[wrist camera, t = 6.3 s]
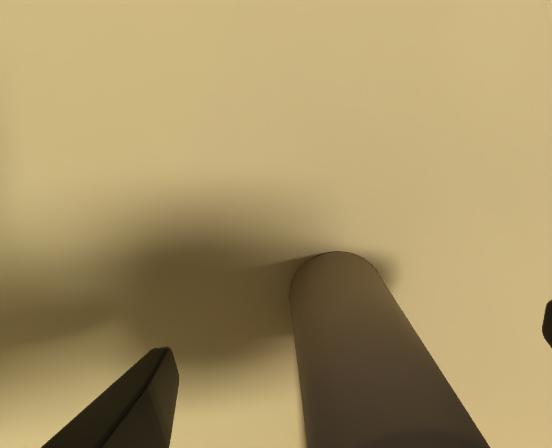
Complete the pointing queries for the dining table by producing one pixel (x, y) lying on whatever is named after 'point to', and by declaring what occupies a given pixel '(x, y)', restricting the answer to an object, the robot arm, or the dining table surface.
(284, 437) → the dining table surface
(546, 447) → the dining table surface
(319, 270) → the tethered block
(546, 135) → the dining table surface
